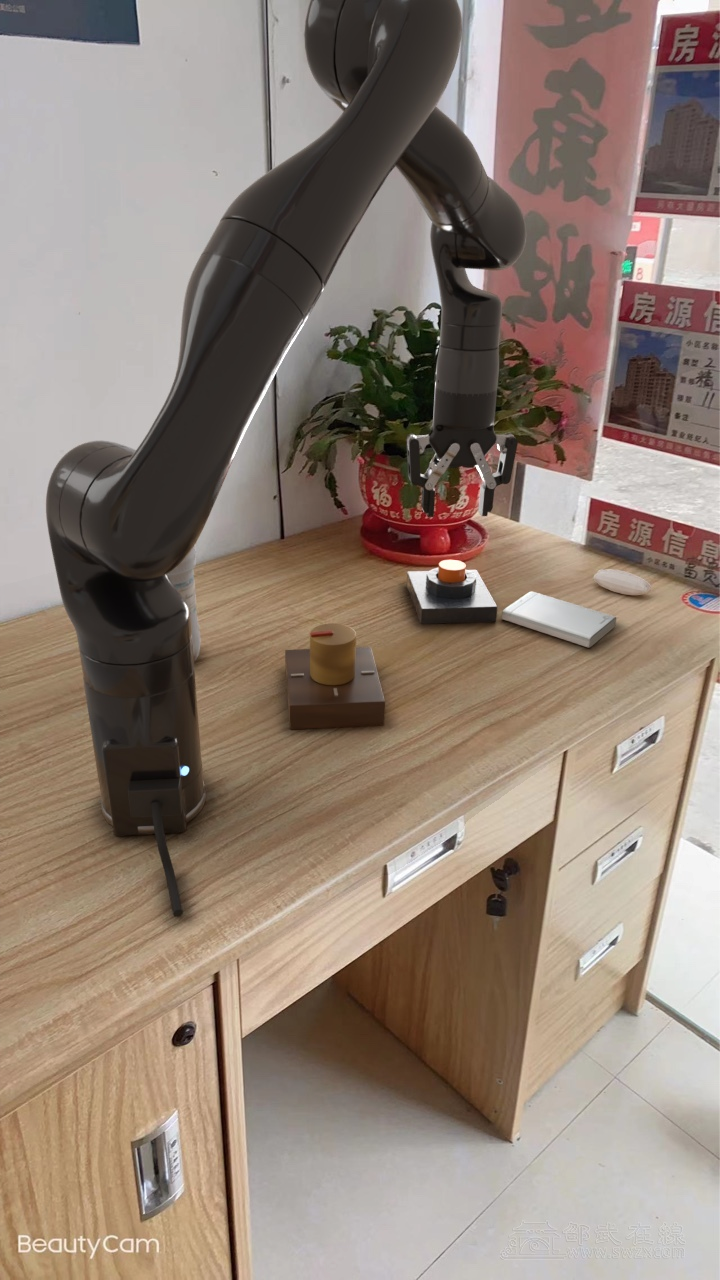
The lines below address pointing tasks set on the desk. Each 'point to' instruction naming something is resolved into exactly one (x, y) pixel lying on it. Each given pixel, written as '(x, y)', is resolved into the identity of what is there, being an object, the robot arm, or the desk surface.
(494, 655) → the desk surface
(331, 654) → the dial
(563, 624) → the hard drive
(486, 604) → the push button base
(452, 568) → the orange push button
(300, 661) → the dial panel
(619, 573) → the white oval capsule
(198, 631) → the bottle
